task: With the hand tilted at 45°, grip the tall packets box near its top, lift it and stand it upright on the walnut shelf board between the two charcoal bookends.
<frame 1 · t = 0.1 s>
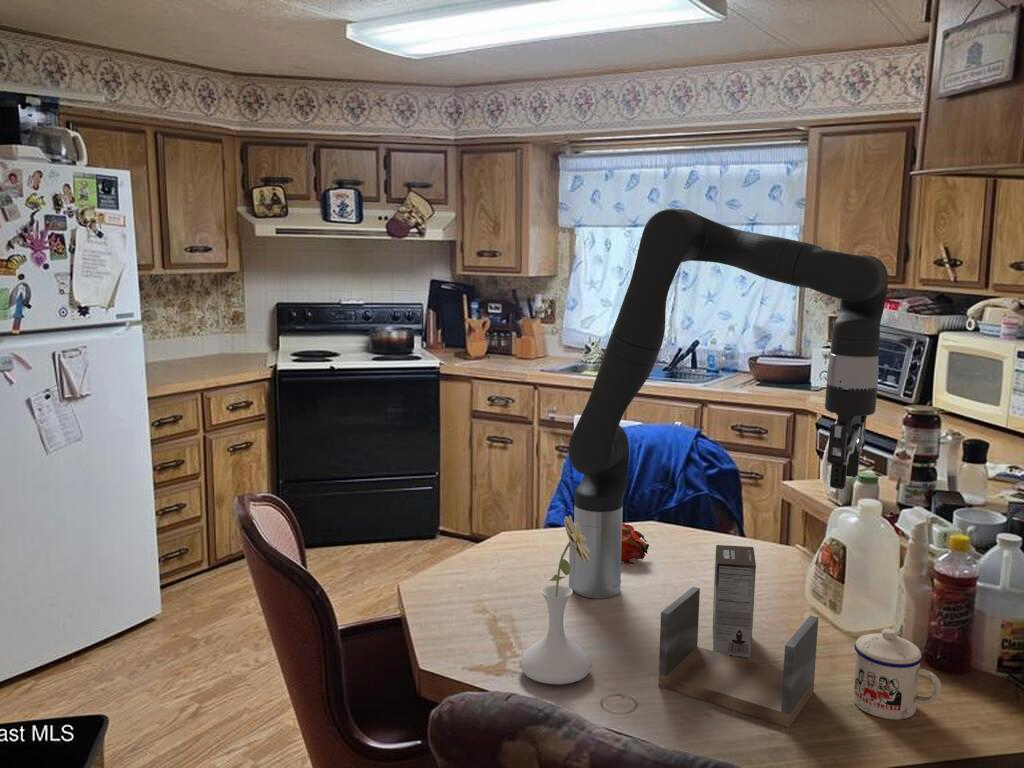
hand: (844, 481, 140), 29 cm above the table, tool pointing down, fingers open, 8 cm apart
dragon fruit: (625, 560, 186), on the table
flower in vase: (558, 672, 138), on the table
coffee box: (731, 645, 147), on the table
shelf bay: (735, 688, 132), on the table
teacup with lid: (893, 709, 127), on the table
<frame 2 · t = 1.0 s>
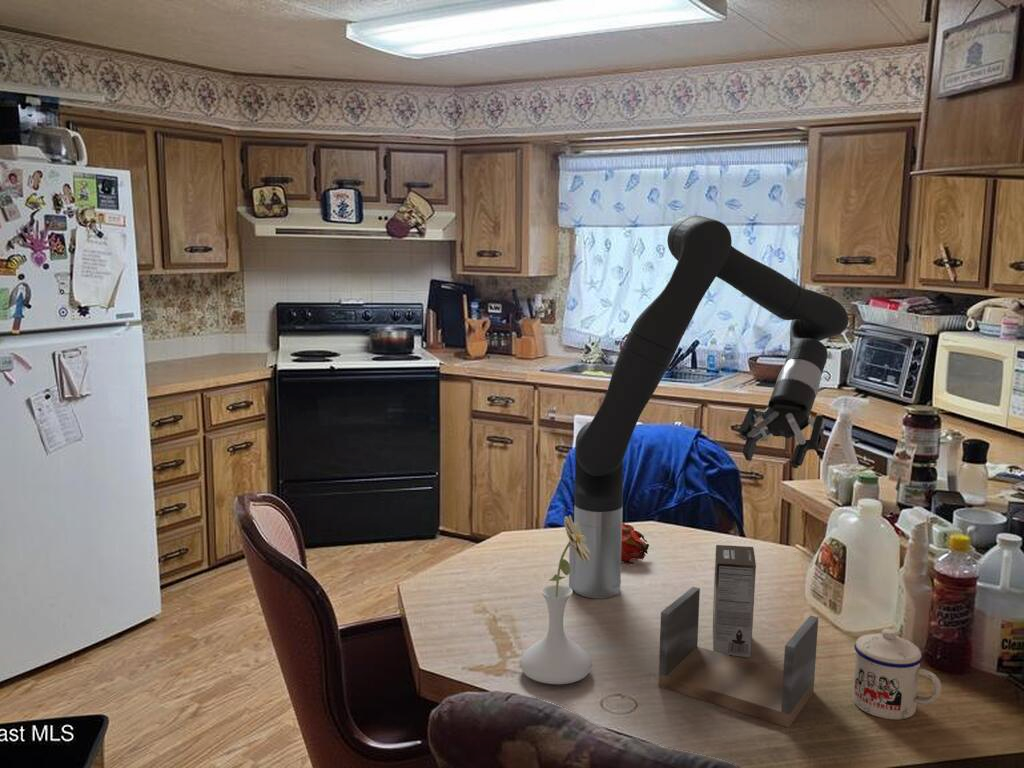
hand: (770, 462, 154), 29 cm above the table, tool tilted 45°, fingers open, 8 cm apart
nothing on the table moved.
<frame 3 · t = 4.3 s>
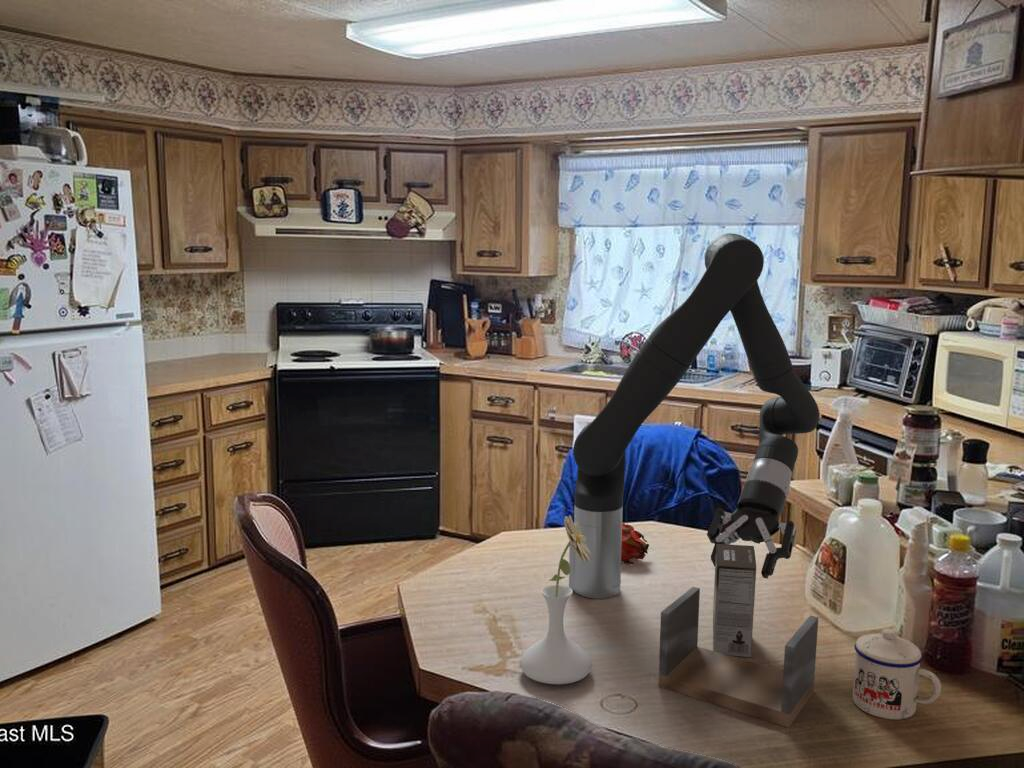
hand: (739, 570, 147), 12 cm above the table, tool tilted 45°, fingers open, 8 cm apart
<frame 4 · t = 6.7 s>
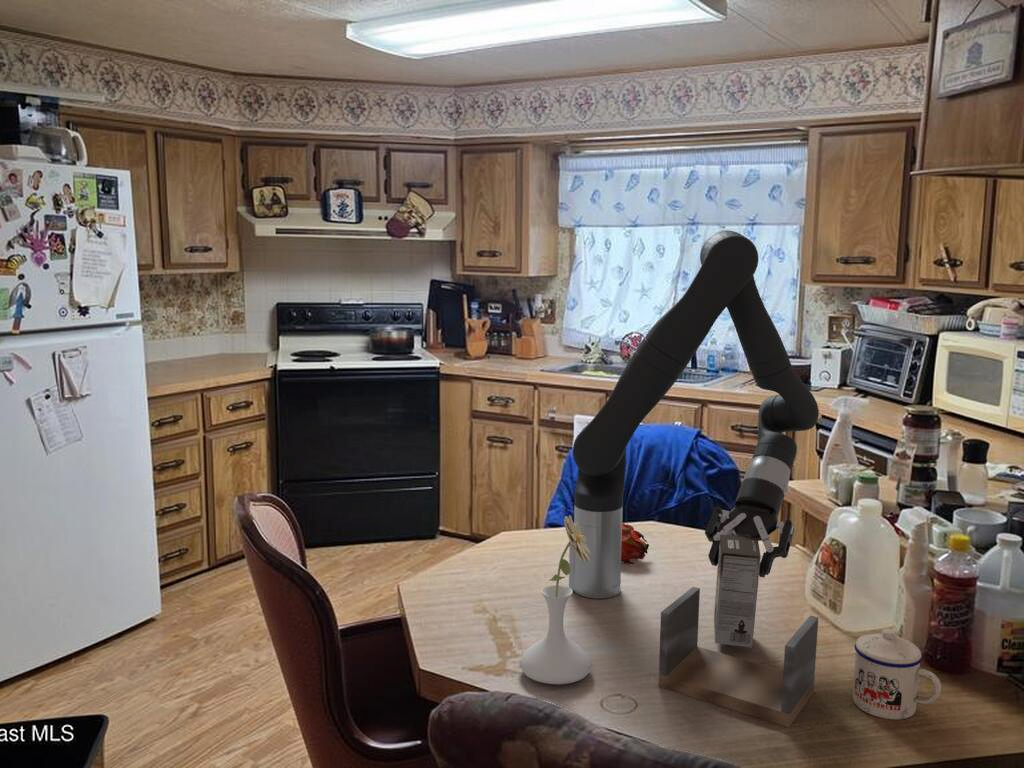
hand: (736, 569, 146), 13 cm above the table, tool tilted 45°, fingers closed on coffee box, 8 cm apart
coffee box: (732, 635, 147), point 2 cm above the table, touching gripper
everything else where it was.
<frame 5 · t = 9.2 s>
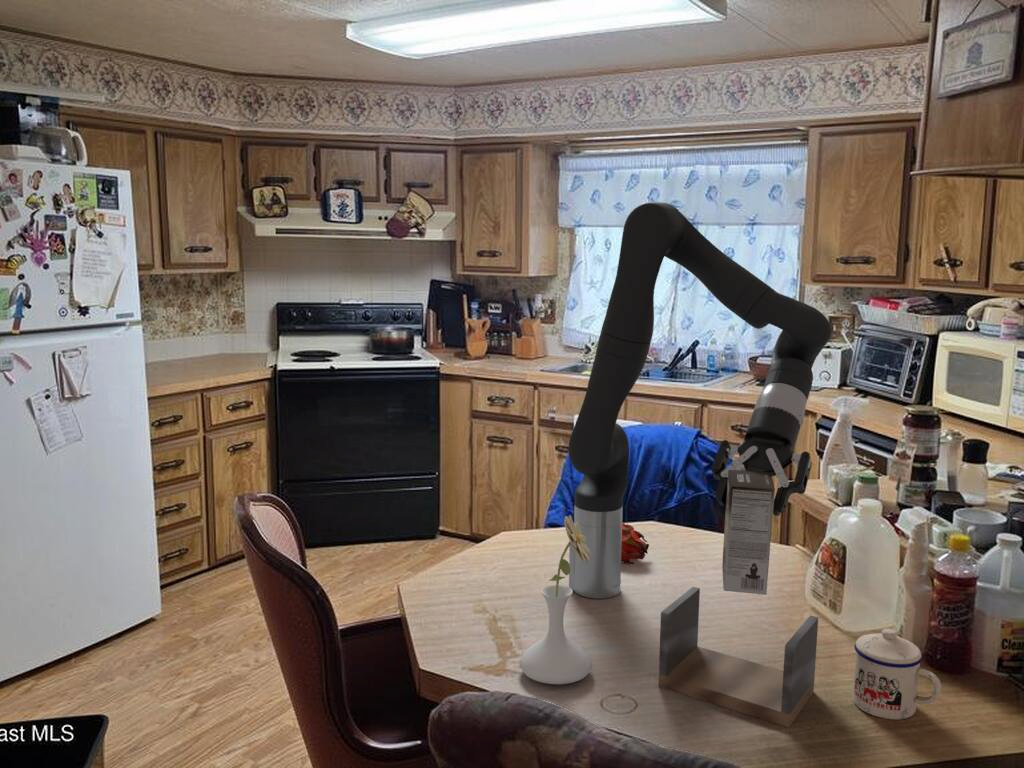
hand: (747, 508, 129), 28 cm above the table, tool tilted 45°, fingers closed on coffee box, 8 cm apart
coffee box: (743, 582, 130), point 17 cm above the table, touching gripper
everything else where it was.
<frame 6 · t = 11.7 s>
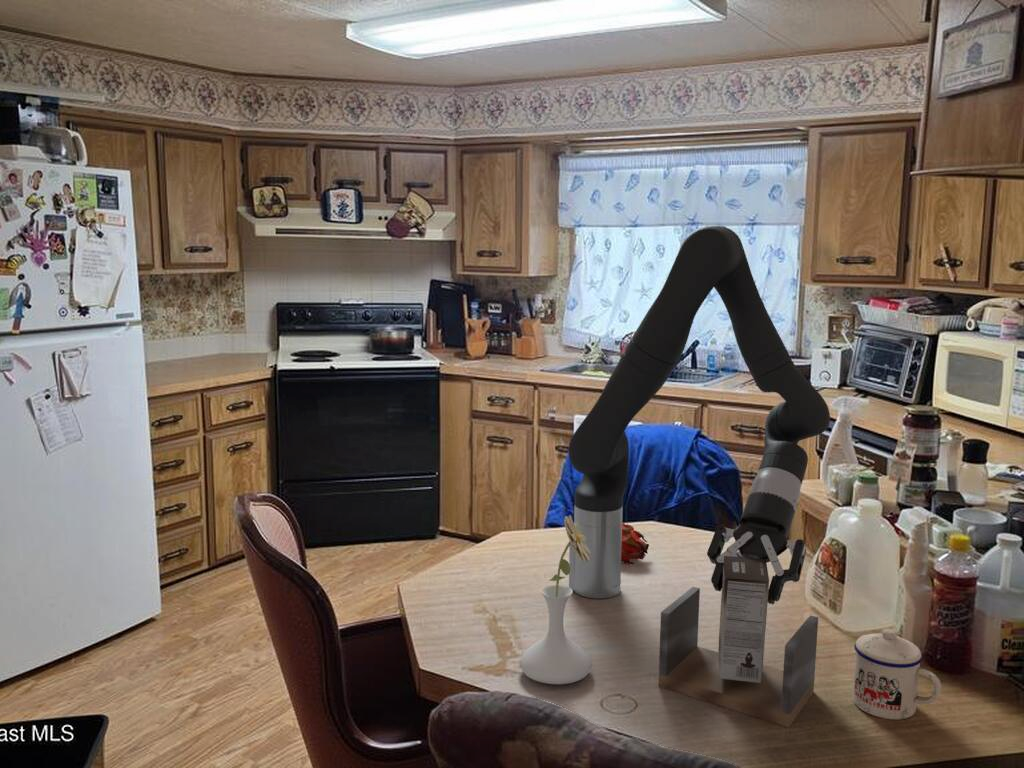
hand: (742, 595, 131), 15 cm above the table, tool tilted 45°, fingers closed on coffee box, 8 cm apart
coffee box: (739, 668, 132), point 3 cm above the table, touching gripper
everything else where it was.
when the fingers open (14 cm above the table, at t = 12.9 s): coffee box drops 1 cm, point 2 cm above the table.
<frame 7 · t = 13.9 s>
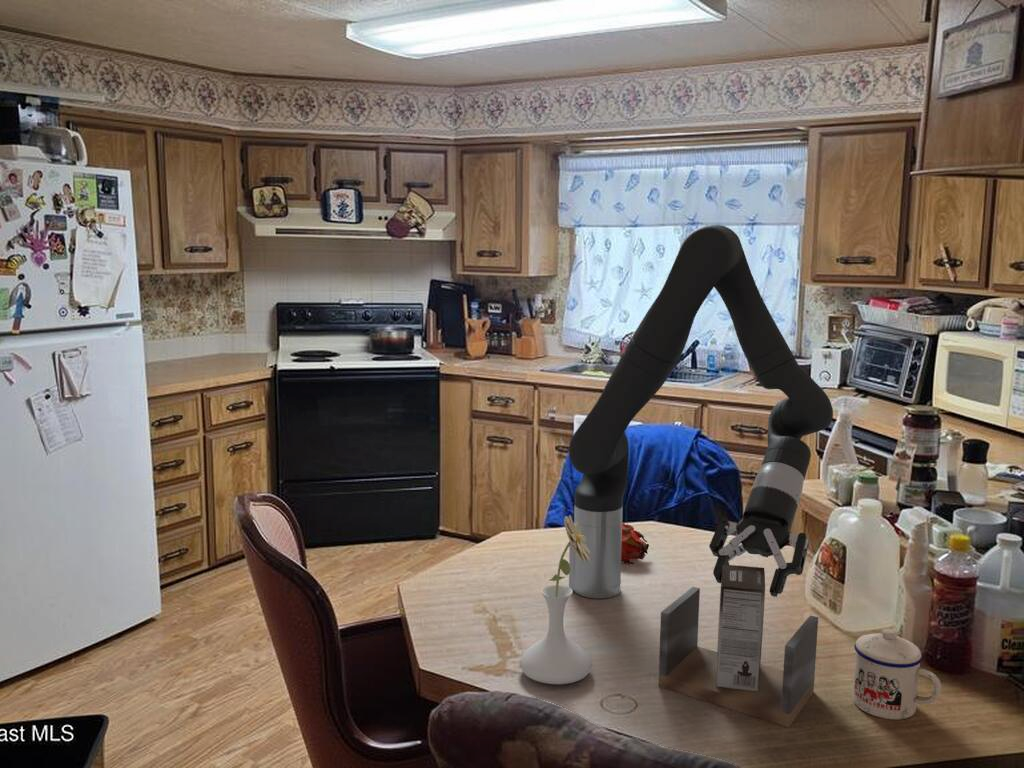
hand: (745, 587, 132), 15 cm above the table, tool tilted 45°, fingers open, 8 cm apart
coffee box: (737, 676, 132), point 2 cm above the table, touching gripper
everything else where it was.
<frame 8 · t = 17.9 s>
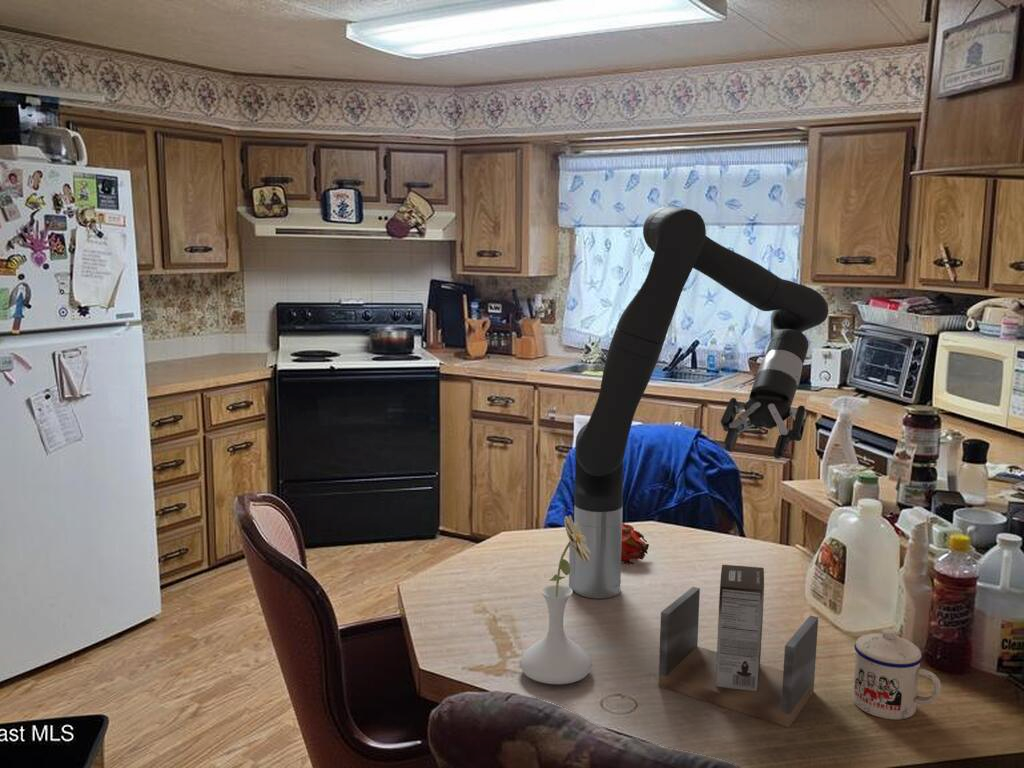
hand: (752, 452, 153), 31 cm above the table, tool tilted 45°, fingers open, 8 cm apart
coffee box: (737, 676, 132), point 2 cm above the table, touching shelf bay
everything else where it was.
at the end: coffee box inside the target area on the shelf bay (0.5 cm from its centre), point 1.8 cm above the shelf bay's base; coffee box tilted 0°; the gripper is holding nothing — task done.
